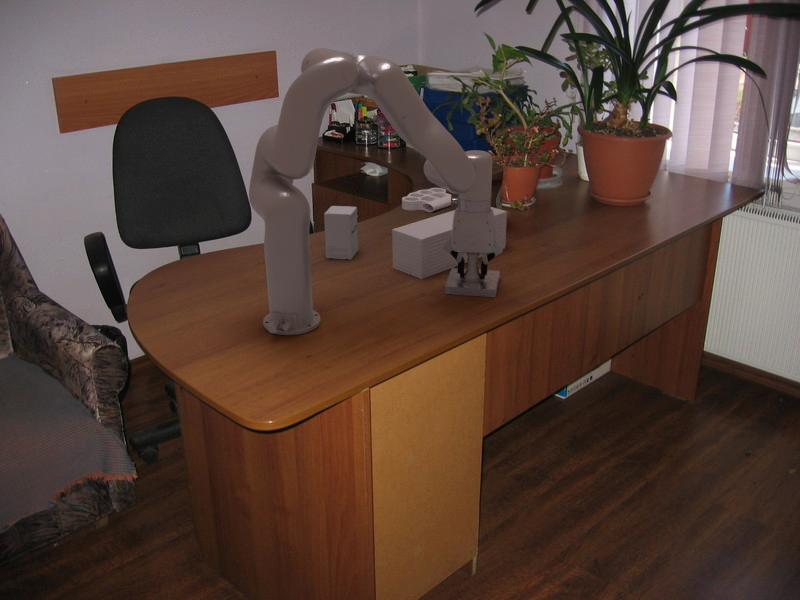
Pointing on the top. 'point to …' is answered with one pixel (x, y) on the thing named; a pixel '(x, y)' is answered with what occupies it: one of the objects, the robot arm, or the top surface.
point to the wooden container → (495, 188)
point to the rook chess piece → (472, 269)
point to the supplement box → (341, 232)
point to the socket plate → (472, 284)
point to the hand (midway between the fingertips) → (472, 276)
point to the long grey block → (433, 244)
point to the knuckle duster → (427, 200)
